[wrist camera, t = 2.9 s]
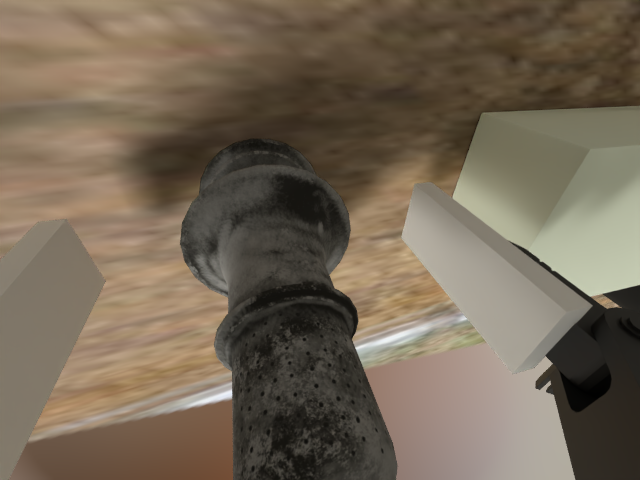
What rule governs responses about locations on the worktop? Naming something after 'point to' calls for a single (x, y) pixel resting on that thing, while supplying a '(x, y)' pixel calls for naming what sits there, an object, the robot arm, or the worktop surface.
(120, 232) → the worktop surface
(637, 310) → the coffee jar
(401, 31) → the worktop surface
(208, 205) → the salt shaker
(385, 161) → the worktop surface
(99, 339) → the worktop surface
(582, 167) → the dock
